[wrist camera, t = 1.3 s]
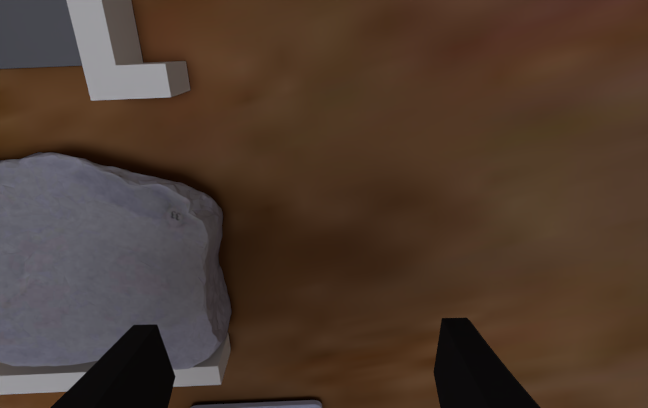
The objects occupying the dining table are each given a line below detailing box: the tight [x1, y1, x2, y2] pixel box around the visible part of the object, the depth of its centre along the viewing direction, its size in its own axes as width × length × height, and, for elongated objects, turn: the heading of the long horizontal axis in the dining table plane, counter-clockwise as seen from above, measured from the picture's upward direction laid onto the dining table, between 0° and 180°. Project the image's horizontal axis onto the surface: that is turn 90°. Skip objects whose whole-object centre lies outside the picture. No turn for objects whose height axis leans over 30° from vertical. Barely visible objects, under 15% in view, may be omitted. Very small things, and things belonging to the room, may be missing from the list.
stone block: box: [0, 152, 232, 370], centre depth 19 cm, size 12×5×10 cm
